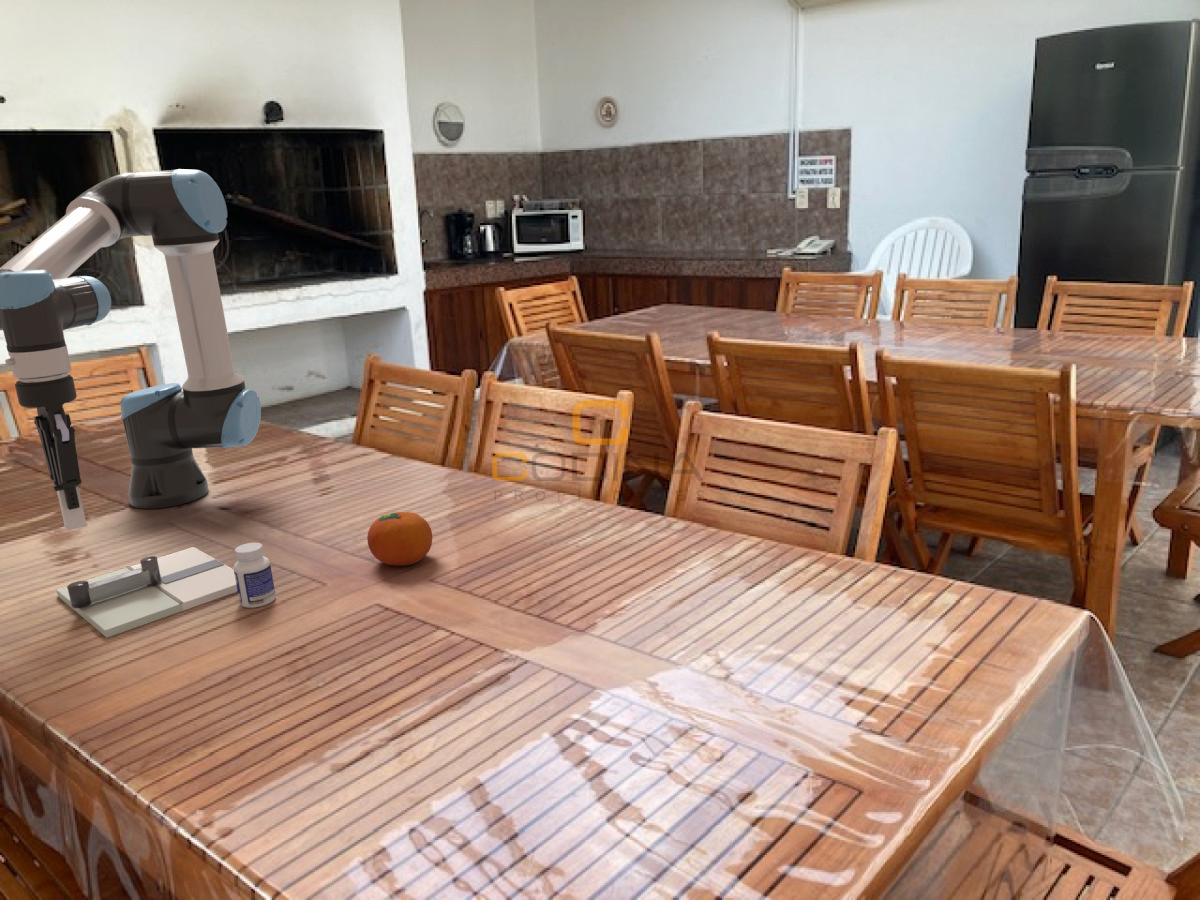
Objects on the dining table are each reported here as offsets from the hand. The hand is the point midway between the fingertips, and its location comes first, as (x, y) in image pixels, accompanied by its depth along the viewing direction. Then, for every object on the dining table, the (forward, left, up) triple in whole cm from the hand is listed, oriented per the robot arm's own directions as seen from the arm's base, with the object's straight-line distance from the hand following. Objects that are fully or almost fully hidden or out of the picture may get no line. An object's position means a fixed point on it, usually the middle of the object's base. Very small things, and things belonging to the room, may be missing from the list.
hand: (75, 526), depth 145 cm
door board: (-8, +6, -12) cm, 15 cm away
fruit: (-40, +28, -12) cm, 50 cm away
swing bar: (-2, +6, -11) cm, 12 cm away
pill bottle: (-17, +23, -12) cm, 31 cm away
